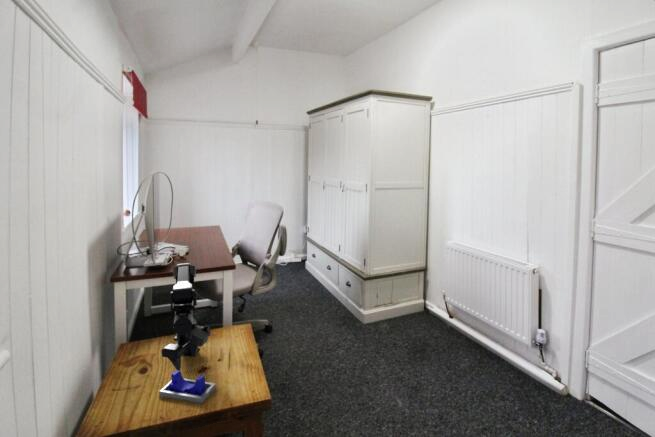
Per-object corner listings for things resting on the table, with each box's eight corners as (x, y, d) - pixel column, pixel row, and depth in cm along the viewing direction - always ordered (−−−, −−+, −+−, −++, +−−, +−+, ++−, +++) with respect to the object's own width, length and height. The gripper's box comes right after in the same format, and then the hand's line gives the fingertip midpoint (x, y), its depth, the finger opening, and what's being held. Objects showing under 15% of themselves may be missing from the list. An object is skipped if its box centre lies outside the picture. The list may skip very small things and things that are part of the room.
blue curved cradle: (169, 391, 132) (168, 376, 131) (177, 384, 137) (177, 369, 136) (197, 398, 129) (196, 382, 128) (205, 390, 133) (204, 375, 132)
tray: (159, 396, 130) (159, 391, 130) (175, 381, 139) (174, 376, 139) (202, 404, 127) (202, 398, 126) (215, 388, 135) (215, 383, 135)
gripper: (189, 337, 118) (191, 381, 120) (218, 313, 136) (220, 352, 138) (158, 333, 120) (161, 376, 123) (192, 310, 138) (194, 349, 141)
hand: (186, 363), depth 131 cm, fingers open, 9 cm apart
